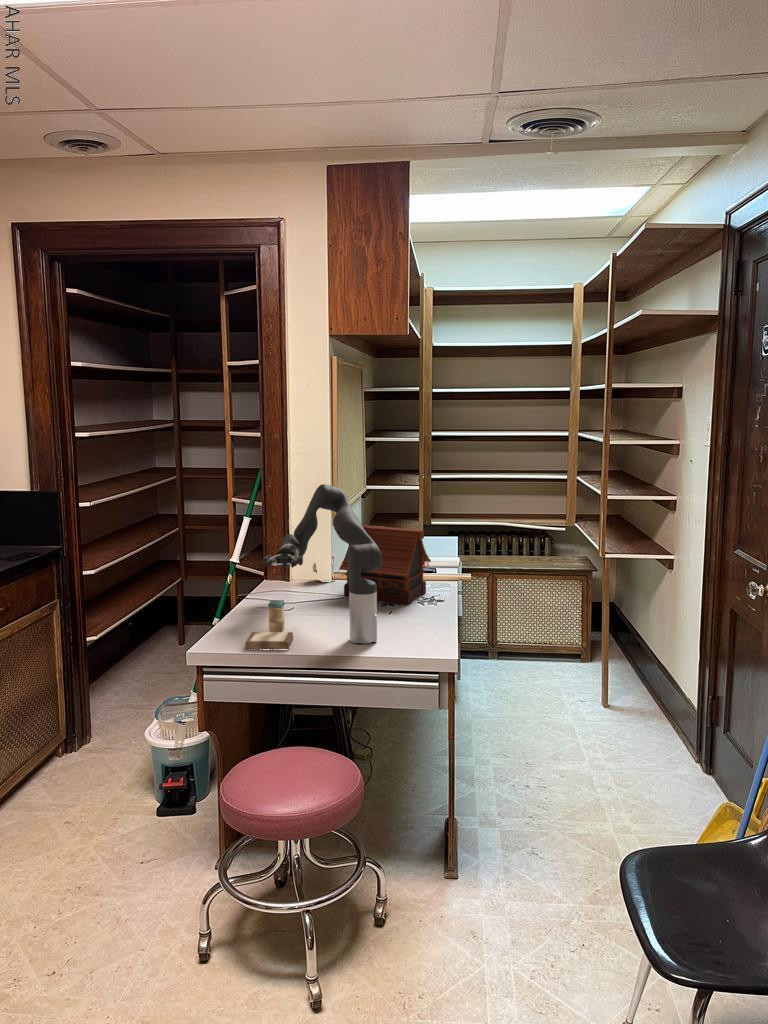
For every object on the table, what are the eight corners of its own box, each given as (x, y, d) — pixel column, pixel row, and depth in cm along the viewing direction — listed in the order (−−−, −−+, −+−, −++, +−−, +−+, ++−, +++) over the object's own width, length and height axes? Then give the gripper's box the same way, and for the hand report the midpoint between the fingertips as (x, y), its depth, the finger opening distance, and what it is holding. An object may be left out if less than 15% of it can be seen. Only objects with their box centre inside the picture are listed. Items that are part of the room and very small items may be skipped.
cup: (331, 584, 321) (331, 557, 319) (312, 583, 322) (311, 556, 320) (338, 578, 331) (337, 552, 329) (318, 577, 332) (318, 551, 331)
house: (434, 591, 309) (435, 524, 304) (409, 609, 283) (409, 536, 279) (360, 582, 323) (360, 518, 318) (330, 599, 297) (329, 529, 293)
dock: (293, 640, 247) (292, 631, 247) (288, 650, 237) (288, 641, 237) (252, 639, 248) (252, 631, 247) (245, 650, 238) (245, 641, 237)
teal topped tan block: (284, 630, 258) (284, 600, 256) (282, 634, 253) (281, 603, 252) (271, 629, 258) (270, 600, 256) (269, 634, 253) (268, 603, 252)
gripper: (269, 545, 279) (260, 554, 263) (305, 545, 278) (299, 554, 262) (269, 564, 280) (261, 574, 264) (306, 564, 280) (300, 574, 264)
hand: (280, 564), depth 263 cm, fingers open, 8 cm apart
